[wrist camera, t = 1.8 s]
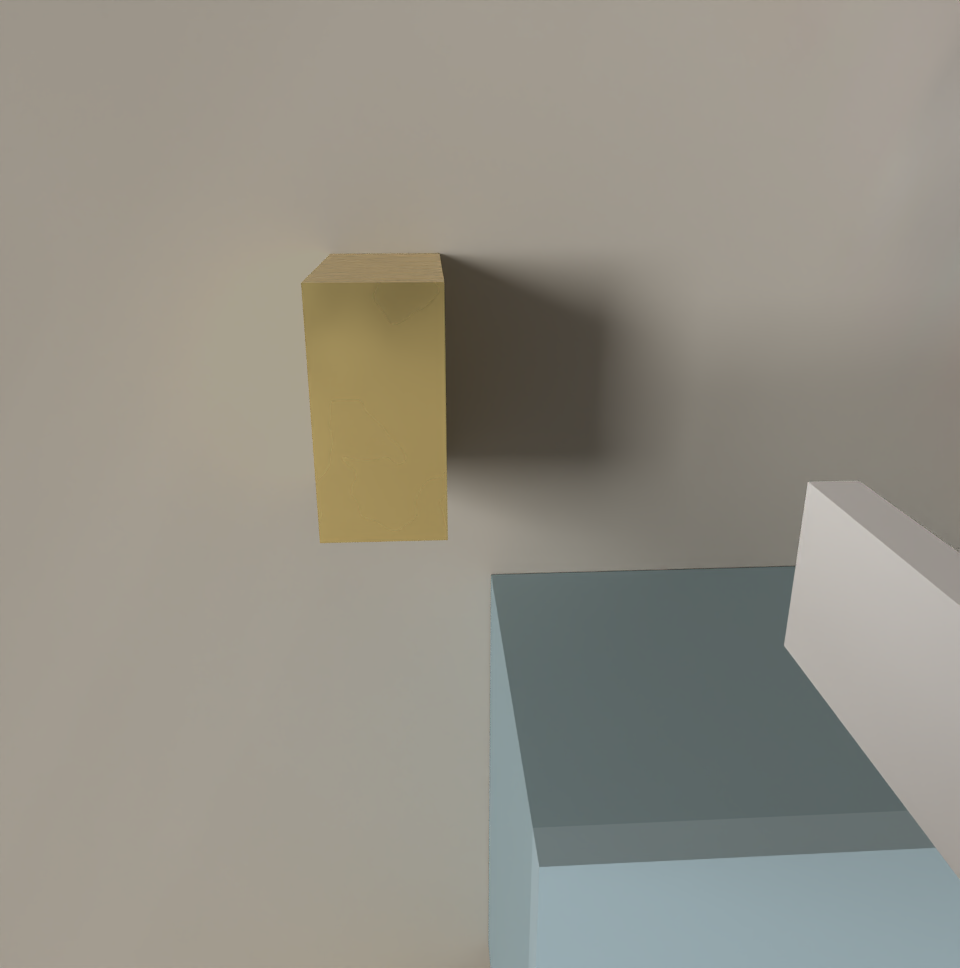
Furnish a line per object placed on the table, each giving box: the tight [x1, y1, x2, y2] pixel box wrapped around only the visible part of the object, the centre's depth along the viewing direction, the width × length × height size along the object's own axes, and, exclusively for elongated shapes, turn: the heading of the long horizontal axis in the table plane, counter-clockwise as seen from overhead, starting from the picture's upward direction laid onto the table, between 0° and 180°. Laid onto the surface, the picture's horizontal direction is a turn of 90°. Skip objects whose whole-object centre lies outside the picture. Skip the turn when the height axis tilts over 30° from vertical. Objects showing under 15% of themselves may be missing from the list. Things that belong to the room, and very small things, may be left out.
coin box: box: [489, 566, 960, 968], centre depth 25 cm, size 16×16×12 cm
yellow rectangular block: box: [301, 253, 448, 543], centre depth 22 cm, size 6×3×6 cm, turn 0°
